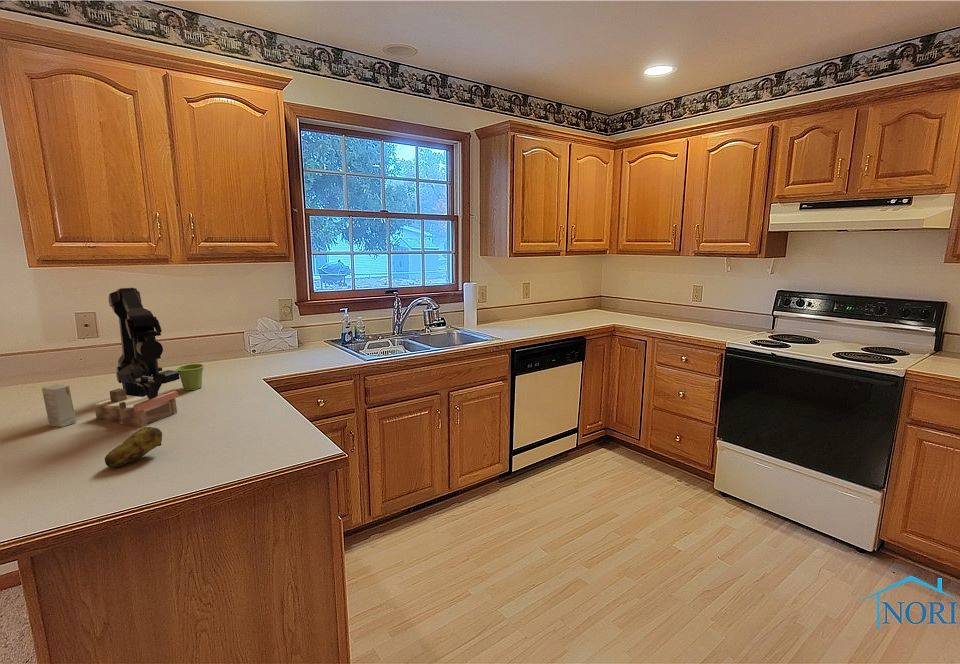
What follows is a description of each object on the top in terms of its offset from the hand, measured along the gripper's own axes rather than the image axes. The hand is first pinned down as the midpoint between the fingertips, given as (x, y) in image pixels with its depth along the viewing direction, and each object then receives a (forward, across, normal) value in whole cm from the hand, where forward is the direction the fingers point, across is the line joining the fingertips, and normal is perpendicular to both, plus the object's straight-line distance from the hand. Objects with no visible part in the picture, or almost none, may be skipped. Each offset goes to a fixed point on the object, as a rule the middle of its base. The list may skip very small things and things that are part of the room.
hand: (152, 401), depth 152 cm
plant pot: (+6, -16, +29) cm, 34 cm away
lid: (+2, -8, 0) cm, 9 cm away
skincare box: (+6, -24, -11) cm, 27 cm away
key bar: (+1, +2, 0) cm, 2 cm away
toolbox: (+6, -8, 0) cm, 10 cm away
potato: (+7, +22, -24) cm, 33 cm away
